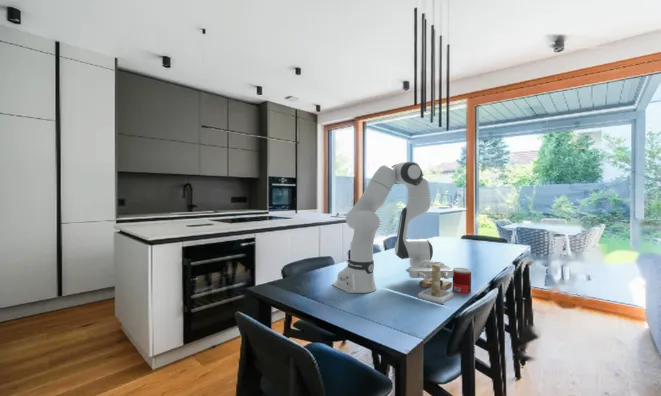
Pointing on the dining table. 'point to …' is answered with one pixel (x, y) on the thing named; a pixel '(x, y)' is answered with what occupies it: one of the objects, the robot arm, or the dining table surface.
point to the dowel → (435, 280)
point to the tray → (427, 294)
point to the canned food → (462, 280)
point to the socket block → (428, 283)
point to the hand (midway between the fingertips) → (436, 277)
